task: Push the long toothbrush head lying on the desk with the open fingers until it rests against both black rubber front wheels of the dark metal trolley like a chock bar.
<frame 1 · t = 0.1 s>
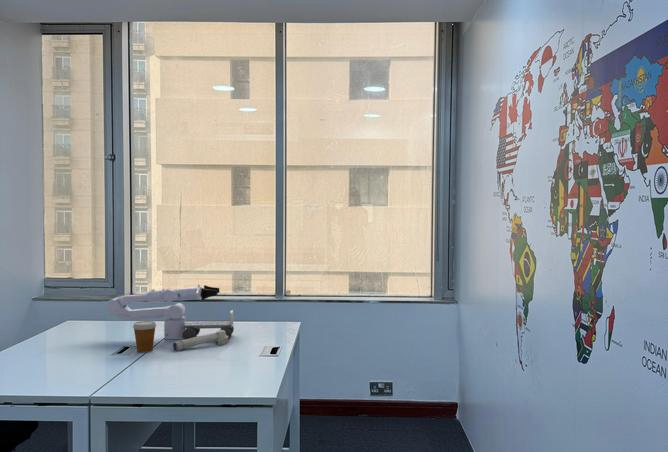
hand: (218, 291, 269), 22 cm above the table, tool horizontal, fingers open, 7 cm apart
disposable coffee cup: (144, 351, 242), on the table
trolley: (208, 338, 266), on the table
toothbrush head: (201, 347, 250), on the table
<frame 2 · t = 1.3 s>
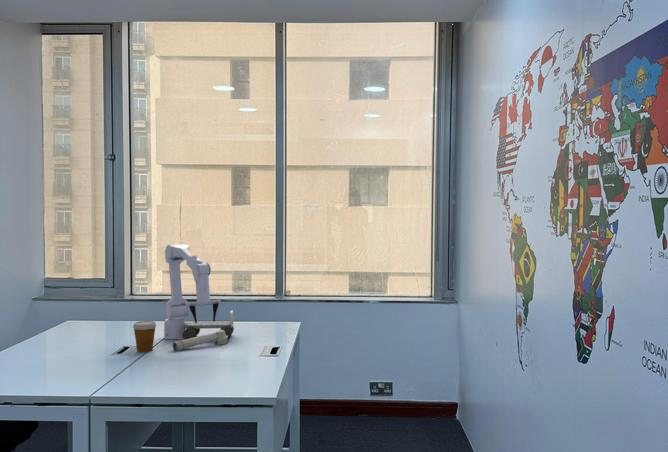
hand: (205, 322, 246), 11 cm above the table, tool pointing down, fingers open, 7 cm apart
nothing on the table moved.
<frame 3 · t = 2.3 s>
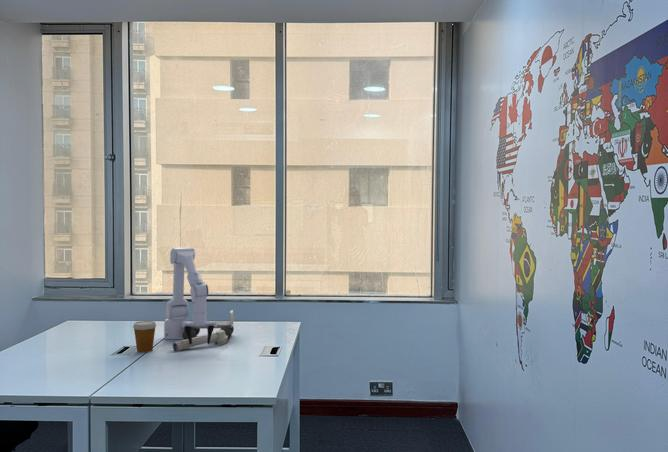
hand: (199, 343, 244), 3 cm above the table, tool pointing down, fingers open, 7 cm apart
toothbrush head: (201, 347, 250), on the table, touching gripper
everything else where it was.
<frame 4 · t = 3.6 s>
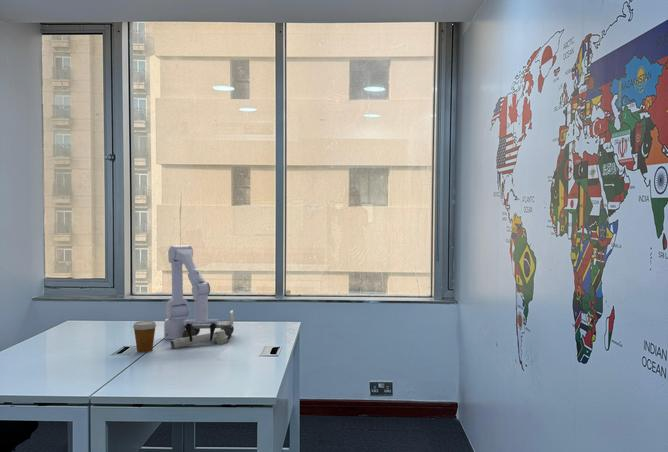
hand: (201, 340, 249), 3 cm above the table, tool pointing down, fingers open, 7 cm apart
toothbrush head: (200, 346, 253), on the table, touching gripper, trolley
everything else where it was.
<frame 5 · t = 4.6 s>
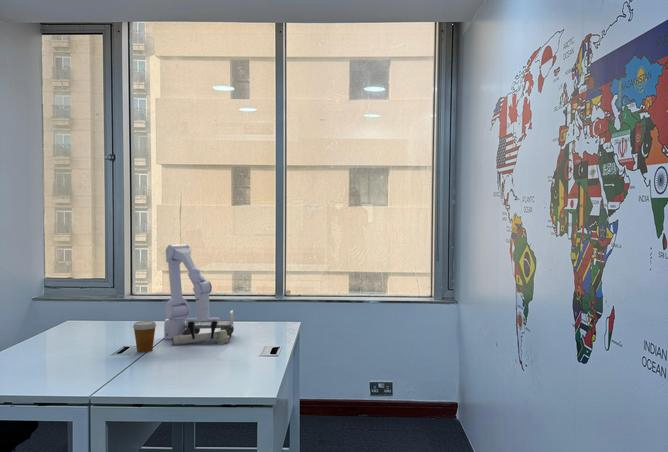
hand: (202, 338, 254), 3 cm above the table, tool pointing down
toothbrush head: (201, 344, 256), on the table, touching gripper, trolley
everything else where it was.
when the fingers open (3 cm above the table, at t = 5.3 s): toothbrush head stays where it is, on the table.
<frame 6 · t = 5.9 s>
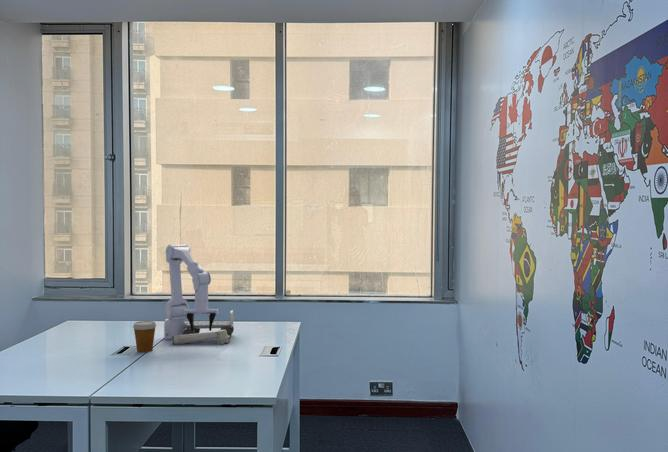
hand: (201, 330, 250), 7 cm above the table, tool pointing down, fingers open, 7 cm apart
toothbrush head: (201, 344, 256), on the table
everything else where it was.
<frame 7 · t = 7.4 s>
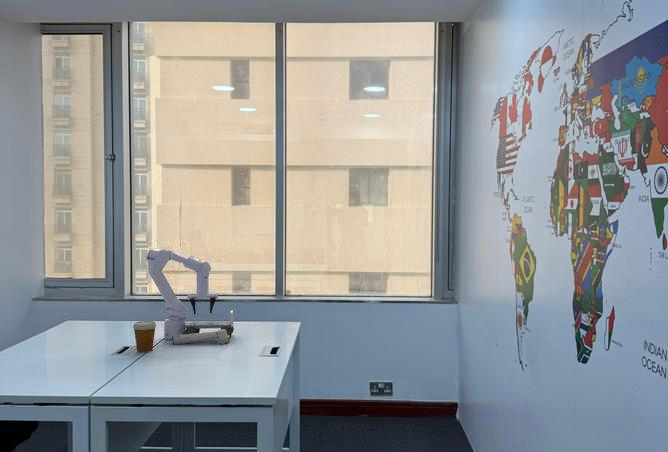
hand: (202, 313, 279), 9 cm above the table, tool pointing down, fingers open, 7 cm apart
nothing on the table moved.
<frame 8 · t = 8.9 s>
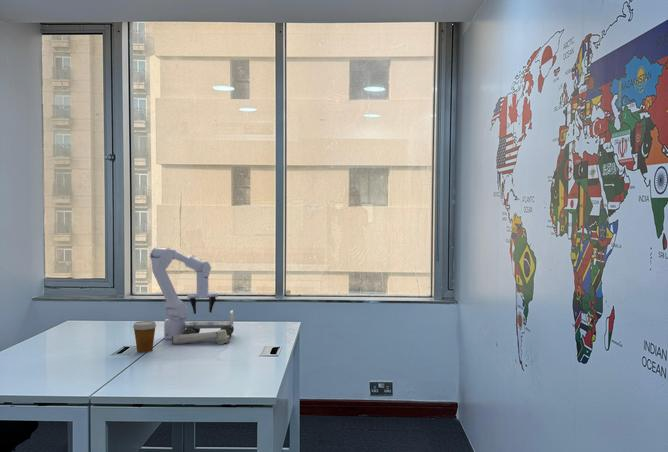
hand: (202, 312, 281), 9 cm above the table, tool pointing down, fingers open, 7 cm apart
nothing on the table moved.
at the end: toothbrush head inside the target area on the trolley (2.3 cm from its centre), point -0.5 cm above the trolley's base; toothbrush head moved 6.1 cm from its start; the gripper is holding nothing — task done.
